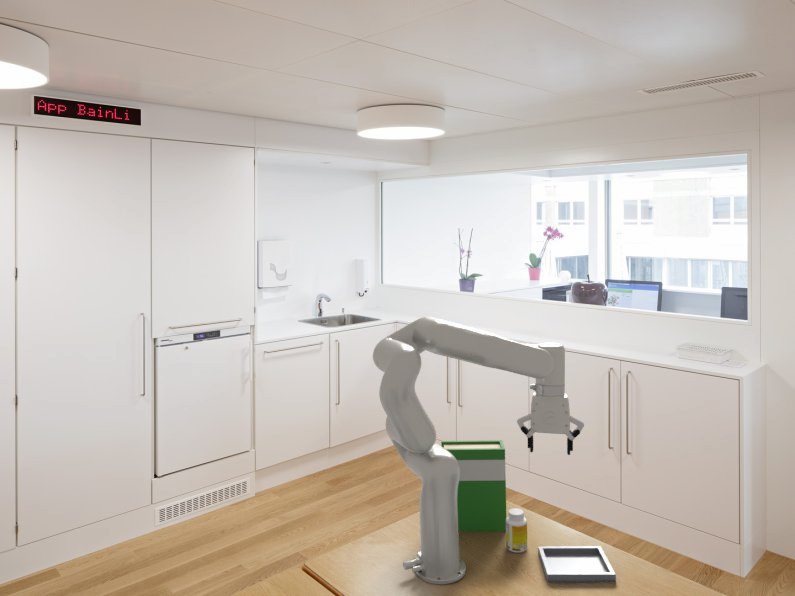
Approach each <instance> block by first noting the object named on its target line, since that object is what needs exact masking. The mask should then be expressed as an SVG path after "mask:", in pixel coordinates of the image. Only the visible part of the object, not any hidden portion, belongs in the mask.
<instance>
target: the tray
mask: <svg viewBox="0 0 795 596" xmlns="http://www.w3.org/2000/svg"><path fill="white" fill-rule="evenodd" d="M537 551H538V557H539V560H540V563H541V567H542V569H543V572H544V575H545V578H546V580H547V583H617V574H616V572H615V571H614V568H613V567H612V565H611V563H610V561H609V559H608V556H606V554H605V552H604V550H603V548H602V546H601V545H575V546H574V545H570V546H569V545H566V546H565V545H561V546H560V545H557V546H555V545H554V546H553V545H550V546H549V545H547V546H546V545H543V546H541V545H540V546H539V545H538V546H537Z"/></svg>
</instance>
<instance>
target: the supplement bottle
mask: <svg viewBox="0 0 795 596" xmlns="http://www.w3.org/2000/svg"><path fill="white" fill-rule="evenodd" d="M505 538H506V539H505V541H506V542H505V543H506V544H505V545H506V549H507V550H508V551H510V552H512V553H517V554H519V553H524V552H525V551H527V549H528V520H527V518H526V517H525V515H524V510H523V509H521V508H518V507H517V508H516V507H514V508H510V509H508V516H506V532H505Z"/></svg>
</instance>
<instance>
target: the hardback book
mask: <svg viewBox="0 0 795 596" xmlns="http://www.w3.org/2000/svg"><path fill="white" fill-rule="evenodd" d="M440 446H442V447H443V448H445V449H446V450H447V451H449V452H450V453H451V454H452V455H453V456H454V457H455V458H456V460H457V462H458V464H459V467H460V479H459V485H458V498H457V501H458V531H463V532H467V533H469V532H472V533H474V532H475V533H477V532H479V533H480V532H482V533H483V532H487V533H491V532H492V533H494V532H495V533H497V532H501V533H503V532H504V533H506V518H507V487H506V486H507V483H506V481H507V480H506V479H507V478H506V449H505V444H504V442H503V440H502V439H501V440H499V439H497V440H496V439H495V440H494V439H493V440H492V439H491V440H489V439H488V440H481V439H480V440H441V445H440ZM463 532H462V533H463Z"/></svg>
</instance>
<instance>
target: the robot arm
mask: <svg viewBox="0 0 795 596" xmlns="http://www.w3.org/2000/svg"><path fill="white" fill-rule="evenodd" d="M565 350H566V348H565V347H564V345H563V344H561V343H558V342H542V343H541V342H540V343H536V344H535V343H533V344H532V343H531V344H530V343H522V342H517V341H515V340H511V339H508V338H506V337H502V336H499V335H497V334H494V333H491V332H489V331H485V330H482V329H479V328H478V329H477V328H474V327H470V326H466V325H464V324H460V323H457V322H452V321H448V320H445V319H441V318H437V317H432V316H423V317H421V318H418V319H416V320H414V321H412V322H410V323H408V324H406V325H405V326H403V327H401V328H399V329H398V330H396V331H395V332H392V333H391V334H389V335H388V336H386V337H384V338H383V339H381V340H380V341H379V342H378V343H377V344H376V345H375V347H374V349H373V352H372V360H373V362H374V364H375V366H376V367H377V368H378V369H379V371H382V372H383V375H382V377H381V382H380V386H379V390H378V391H379V393H378V395H379V401H380V404H381V407H382V409H383V410H384V412H385V414H386V416H387V417H386V419H385V430H386V433H387V435H388V437H389V439H390V441H391V443H392V444H393V445H394V446H393V447H395V450H397V452H398V455H399V456H400V458H401V459H402V461H403V462H404V464H405V465H406V467H407V468H408V469H409V471H411V472H412V473H413V475H416V477H417V478H418V479H420V481H421V490H420V493H419V498H418V500H419V504H418V506H419V507H418V508H419V527H420V528H419V529H420V531H419V532H420V534H419V536H420V551H418V552H417V556H416V557H413V558H414V559H411V560H410V559H409V560H406V561H403V562H402V567H403V569H404V570H405V571H408V570H410V569H411V571H412V573H413V574H414V573H415V574H416V575H417V576H418V578H419V579H421V580H422V581H424V582H426V583H430V584H434V585H449V584H452V583H455V582H456V583H457V582H458V581H460V580H461V579H463V577H464V576H465V574H466V572H467V567H466V563H465V562H464V560H463V559H462V558H460V542H459V541H460V537H459V532H458V501H457V498H458V485H459V479H460V467H459V464H458V462H457V460H456V458H455V457H454V456H453V455H452V454H451V453H450V452H449V451H447V450H446V449H445V448H443V447H442V446H441V445H440V444H439V443H437V442H436V441H437V430H436V428H435V425H434V424H433V422H432V420H431V418H430V417H429V415H428V413H427V412H426V410H425V408H424V406H423V405H422V403H421V402H420V400H419V397H418V395H417V392H416V388H415V386H416V381H417V379H418V377H419V374H420V372H421V369H422V357H421V354H422V353H423V352H425V351H427V352H429V353H432V354H435V355H438V356H442V357H446V358H450V359H455V360H459V361H463V362H467V363H471V364H475V365H478V366H482V367H486V368H491V369H497V370H501V371H506V372H508V373H513V374H517V375H521V376H525V377H528V378H532V379H535V382H534V383H533V384H530V385H529V389H530V390H533V391H534V392H533V393H532V397H531V403H530V413H529V414H526V415H524V416H522V417H519V418H518V419H517V420H516V424H517V425H518V426H519V428H520V431H521V432H522V433H523V434H524V435H525V436H526V438H527V449H529V452H530V453H533V452H534V434H535V433H539V434H540V433H541V434H551V435H552V434H554V435H565V436H566V438H567V439H566V446H567V447H566V450H567V451H566V453H567V455H568V456H570V455H571V452H573V451H574V440H575V439H576V438H577V437H578V436H579V435H580V434H581V432H582V431H583V429H584V427H585V423H584V422H583V421H581V420H579V419H577V418H575V417H574V416H572V415H571V413H570V409H571V408H570V402H569V401H570V400H569V396H568V395H567V394H566V391H565V389H566V388H565V387H566V386H565V385H566V382H565V381H566V380H565V378H566V372H565V371H566V368H565V367H566V351H565ZM528 421H530V422H529V423H530V425H529V426H530V428H529V429H528V427H527V426H526V425H525V423H526V422H528ZM571 424H574V425H575V426H576V428H575V429H574V430H573V431H571Z"/></svg>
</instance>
